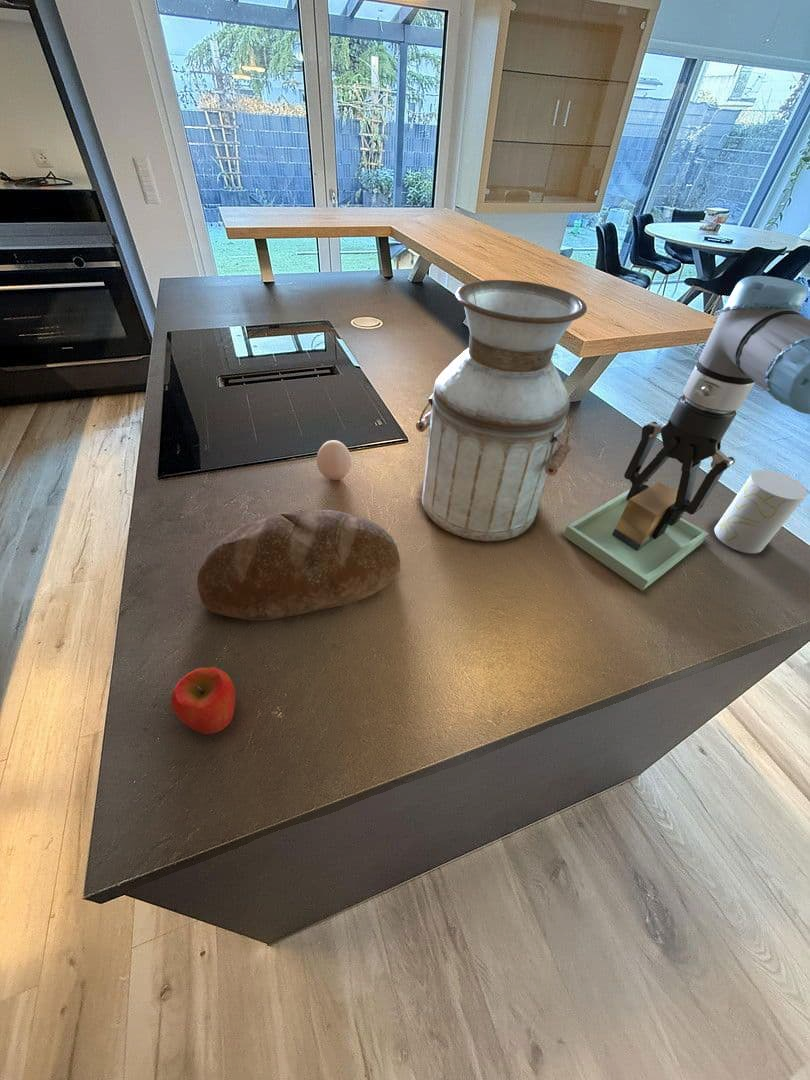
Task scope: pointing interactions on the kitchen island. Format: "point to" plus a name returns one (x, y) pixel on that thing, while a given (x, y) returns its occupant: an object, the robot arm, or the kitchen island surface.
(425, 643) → the kitchen island surface
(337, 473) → the egg
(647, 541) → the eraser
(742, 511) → the white cylinder
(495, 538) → the white milk churn
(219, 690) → the apple
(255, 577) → the bread
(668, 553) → the tray
